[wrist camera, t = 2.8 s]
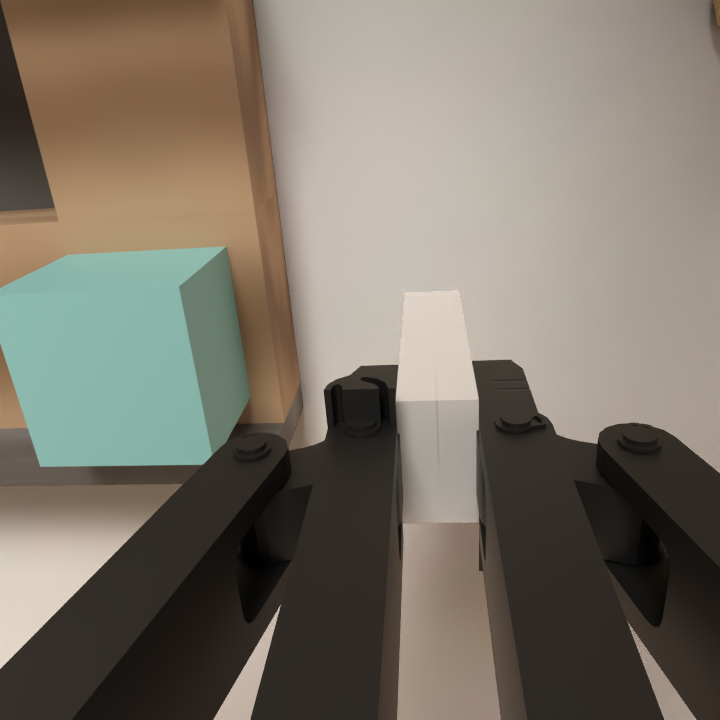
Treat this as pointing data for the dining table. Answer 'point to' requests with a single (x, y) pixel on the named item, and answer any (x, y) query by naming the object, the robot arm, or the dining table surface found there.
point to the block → (126, 357)
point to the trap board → (142, 179)
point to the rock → (717, 11)
